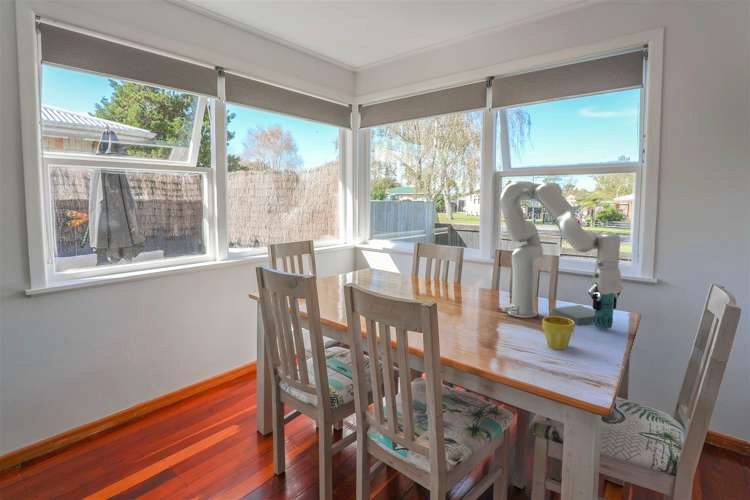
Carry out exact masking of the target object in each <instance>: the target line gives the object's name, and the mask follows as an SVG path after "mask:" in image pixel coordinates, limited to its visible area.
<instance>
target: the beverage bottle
mask: <svg viewBox="0 0 750 500" xmlns="http://www.w3.org/2000/svg"><path fill="white" fill-rule="evenodd" d="M614 295H615V294H614V293H610V294H608V295H602V296H601V298H600V300H599V301H601V309H600V311H597V310H595V309H594V310H595V314H594V315H595V320H594V323H593V324H594V327H596V328H599V329H606V330H608V329H612V327H613V322H614V309H613V307H614ZM597 297H598V294H597Z"/></svg>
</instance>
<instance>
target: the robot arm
mask: <svg viewBox="0 0 750 500" xmlns="http://www.w3.org/2000/svg"><path fill="white" fill-rule="evenodd" d="M499 201H500V202H499V203H500V208H501V211H502V215H503V219H504V223H505V226H506V227H505V228H506V230H507V231H506V232H507V234H508V237H509V240H510V241H511V242H513V243H516V244H519V246H517V247H516V248H514V250H513V251H512V253H511V258H510V259H511V268H512V286H511V287H512V288H511V303H509V305H508V306H502V309H501V310H502V311H503V312H507V313H508V314H509V315H510V316H512V317H514V318H515V317H517V318H523V319H531V318H535V317H537V316H538V312H537V311H536V310H535V290H536V272H535V271H536V270H535V264H537V263H539V262H540V261H541V260H542V259H543V256H544V250H543V246H542V242H541V239H540V236H539V231H538V228H537V226H536V225H535V223H534V222H532V221H529V220H526V218H525V212H524V210H523V208H522V206H521V203H520V202H521V201H535V202H538V203H539V204H540V205H541V206H542V208H544V209H545V211H546V212H547V213H548V214H549V216H550V217H551V218H552V219H553V220H554V221H555V225H556V227H557V228H558V230H559V232H560V233H561V235H562V236H563V238H564V239H565V241H566V242H567V243H568V244H569V245H570V246H571V247H572V248H573V250H575V251H577V252H579V253H588V252H591V251H593V250H596V263H595V267H596V268H594V273H593V276H592V277H593V278H592V285H591V287H590V288H589V289H588V290H587V293H588V294H589V296H590V297H591V299H592V310H597V311H600V309H601V301H599V300H600V298H601V296H602V295H608V294H610V293H614V294H615V295H614V307H613V310H616V309H617V302H618V299H619V296H620V295H621V292H622V291H623V290H624V288H623V287H622V276H621V275H622V274H621V270H620V268H619V265H620V264H619V262H620V249H621V248H620V247H621V236H620V235H619V234H617V233H611V232H608V233H607V232H606V233H601V232H595V231H586V230H584V229H583V228H582V226H581V225H580V224H579V222H578V221H577V219H576V216H575V209H574V207H573V206H572V205H571V204H570V202H568V201H567V199H566V198H565V197H564V196H563V190H562V187H561V186H560V185H559V184H557V183H555V182H541V181H528V180H527V181H524V180H523V181H522V180H519V181H517V180H516V181H513V182H510V183H509V184H507V185H506V186H505V187H504V188H503V190H502V191H501V194H500V197H499ZM597 294H598V297H597Z"/></svg>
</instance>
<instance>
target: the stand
mask: <svg viewBox="0 0 750 500" xmlns="http://www.w3.org/2000/svg"><path fill="white" fill-rule="evenodd" d="M594 314H595V309H593V308H590V307H586V306H583V305H581V304H578V305H577V304H576V305H569V306H568V305H567V306H562V307H561V306H560V307H554V308H552V309H551V316H559V317H565V318H568V319H571V320H573V321H574V323H575V326H584V325H589V324H594V320H595V315H594Z"/></svg>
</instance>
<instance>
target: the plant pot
mask: <svg viewBox="0 0 750 500" xmlns="http://www.w3.org/2000/svg"><path fill="white" fill-rule="evenodd" d="M575 326H576V325H575V323H574V321H573V320H571V319H568V318H565V317H559V316H554V315H550V316H545V317H543V318H542V329H543V330H544V334H545V338H546V339H545V340H546V345H547V347H549V348H550V349H553V350H557V351H558V350H561V351H563V350H566V349H567V348H568V346H569V343H570V340H571V337H572V334H573V333H574V332H575Z"/></svg>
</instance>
